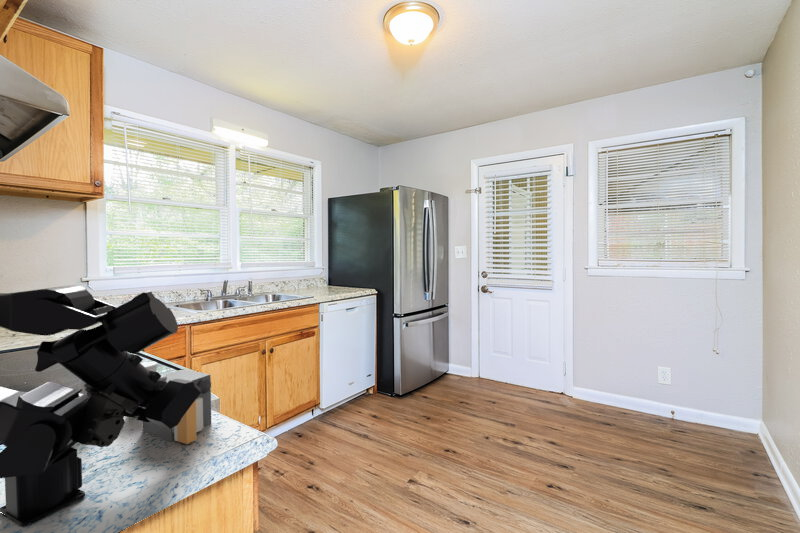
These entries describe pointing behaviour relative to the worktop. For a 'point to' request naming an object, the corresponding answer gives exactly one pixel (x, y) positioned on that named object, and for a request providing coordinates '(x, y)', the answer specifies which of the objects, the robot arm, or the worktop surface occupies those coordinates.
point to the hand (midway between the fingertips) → (177, 422)
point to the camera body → (205, 385)
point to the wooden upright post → (190, 423)
